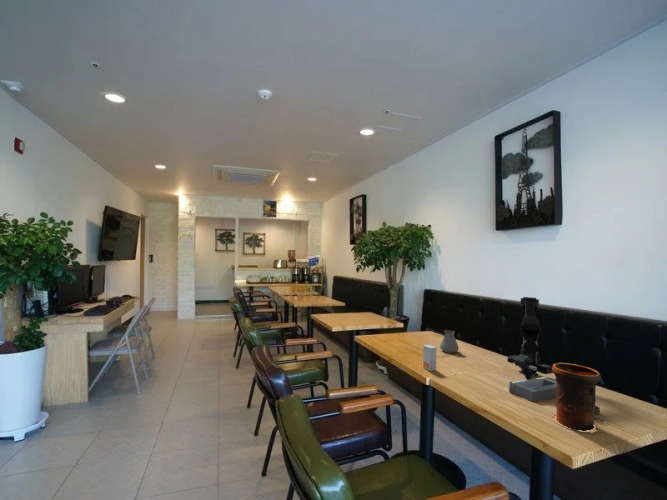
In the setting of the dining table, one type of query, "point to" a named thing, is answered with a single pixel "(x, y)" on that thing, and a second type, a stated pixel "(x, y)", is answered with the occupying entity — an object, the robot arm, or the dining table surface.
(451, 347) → the coffee pot
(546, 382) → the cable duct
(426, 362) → the skincare box
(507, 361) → the robot arm
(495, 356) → the dining table surface
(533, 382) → the light grey flat bar
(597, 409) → the walkie-talkie
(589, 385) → the vessel
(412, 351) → the dining table surface
